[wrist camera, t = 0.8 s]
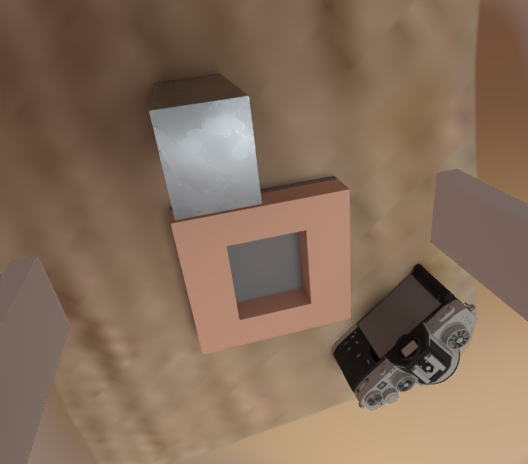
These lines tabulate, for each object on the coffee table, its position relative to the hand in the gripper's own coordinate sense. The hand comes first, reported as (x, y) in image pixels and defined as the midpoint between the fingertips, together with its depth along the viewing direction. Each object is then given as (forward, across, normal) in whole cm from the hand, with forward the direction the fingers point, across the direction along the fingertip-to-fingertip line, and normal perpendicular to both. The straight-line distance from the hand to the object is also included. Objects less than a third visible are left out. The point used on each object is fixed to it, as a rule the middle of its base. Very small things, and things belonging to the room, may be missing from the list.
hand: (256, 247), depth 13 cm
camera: (+21, +17, -26) cm, 38 cm away
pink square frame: (+21, +3, -14) cm, 26 cm away
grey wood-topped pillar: (+21, -1, 0) cm, 21 cm away
